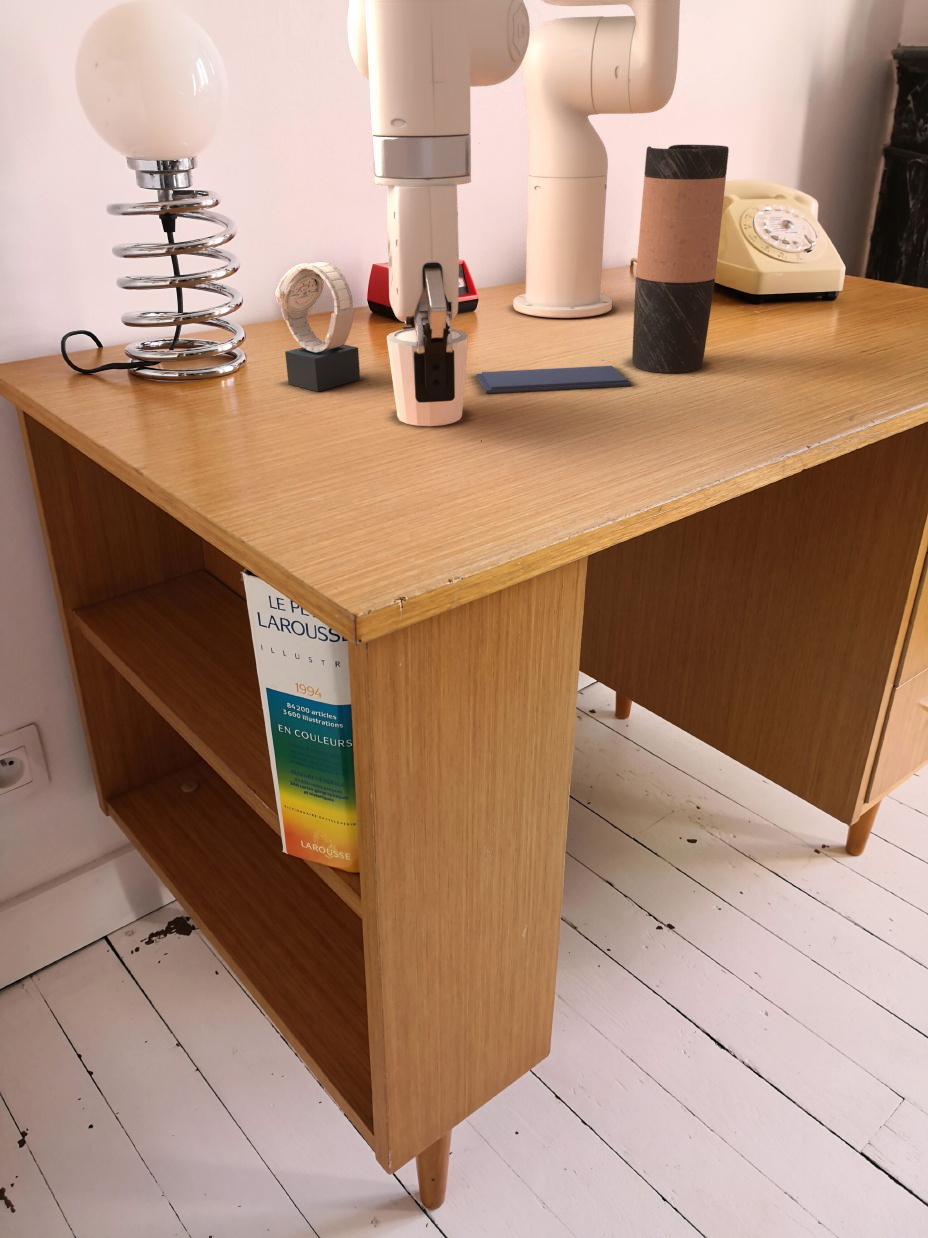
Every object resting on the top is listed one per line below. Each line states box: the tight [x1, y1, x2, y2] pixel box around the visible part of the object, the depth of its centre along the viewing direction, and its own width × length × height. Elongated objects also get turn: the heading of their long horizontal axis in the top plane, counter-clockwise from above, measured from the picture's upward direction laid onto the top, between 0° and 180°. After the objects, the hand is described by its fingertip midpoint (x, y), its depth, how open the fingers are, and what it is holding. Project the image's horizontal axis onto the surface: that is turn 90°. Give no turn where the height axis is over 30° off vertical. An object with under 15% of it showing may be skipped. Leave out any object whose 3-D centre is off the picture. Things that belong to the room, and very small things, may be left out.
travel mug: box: [631, 144, 730, 374], centre depth 92 cm, size 8×8×20 cm
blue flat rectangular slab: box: [475, 365, 632, 394], centre depth 92 cm, size 6×14×1 cm, turn 98°
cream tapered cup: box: [386, 328, 469, 427], centre depth 81 cm, size 7×7×7 cm
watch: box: [274, 261, 361, 393], centre depth 90 cm, size 6×8×11 cm
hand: (428, 384), depth 81 cm, fingers open, 8 cm apart
